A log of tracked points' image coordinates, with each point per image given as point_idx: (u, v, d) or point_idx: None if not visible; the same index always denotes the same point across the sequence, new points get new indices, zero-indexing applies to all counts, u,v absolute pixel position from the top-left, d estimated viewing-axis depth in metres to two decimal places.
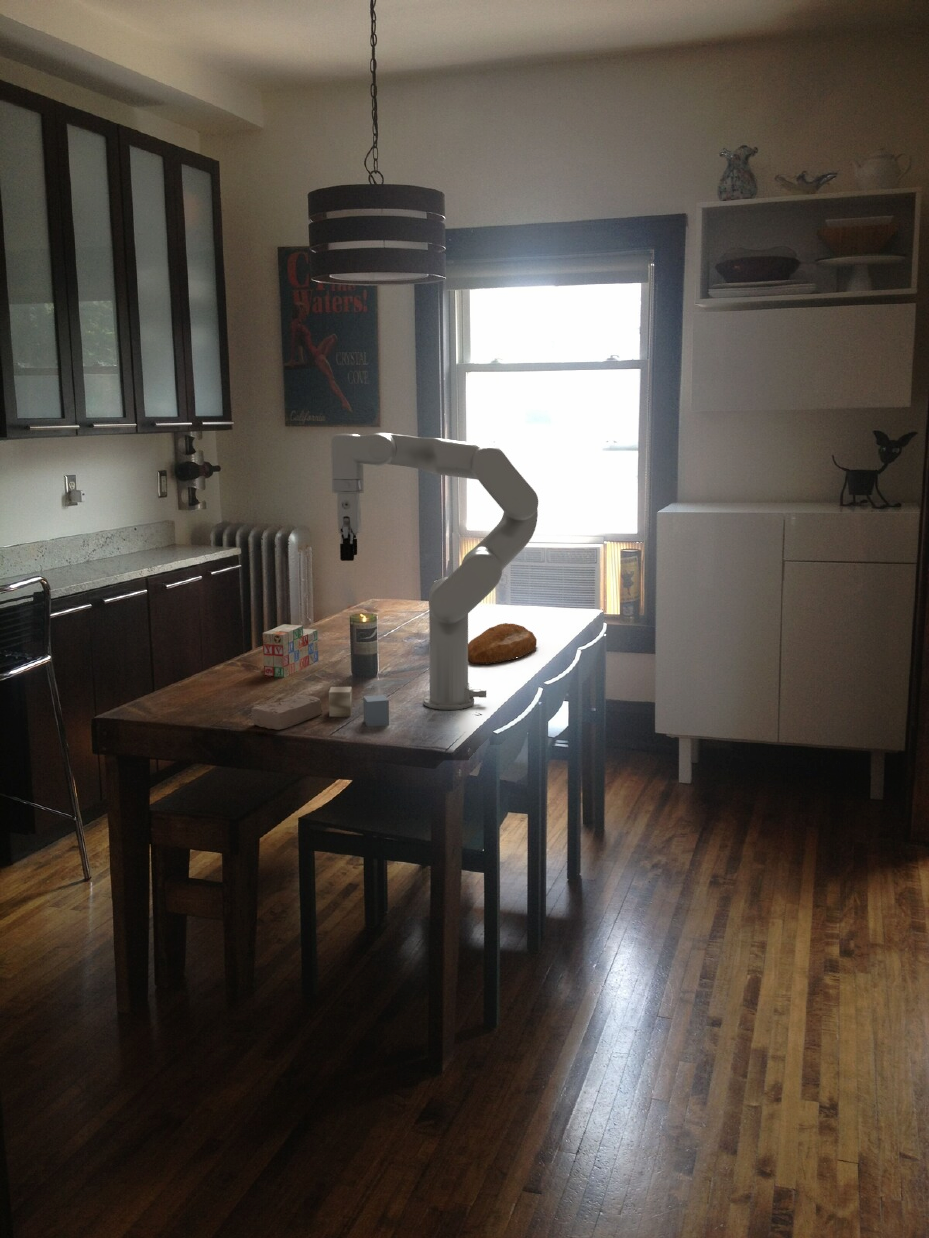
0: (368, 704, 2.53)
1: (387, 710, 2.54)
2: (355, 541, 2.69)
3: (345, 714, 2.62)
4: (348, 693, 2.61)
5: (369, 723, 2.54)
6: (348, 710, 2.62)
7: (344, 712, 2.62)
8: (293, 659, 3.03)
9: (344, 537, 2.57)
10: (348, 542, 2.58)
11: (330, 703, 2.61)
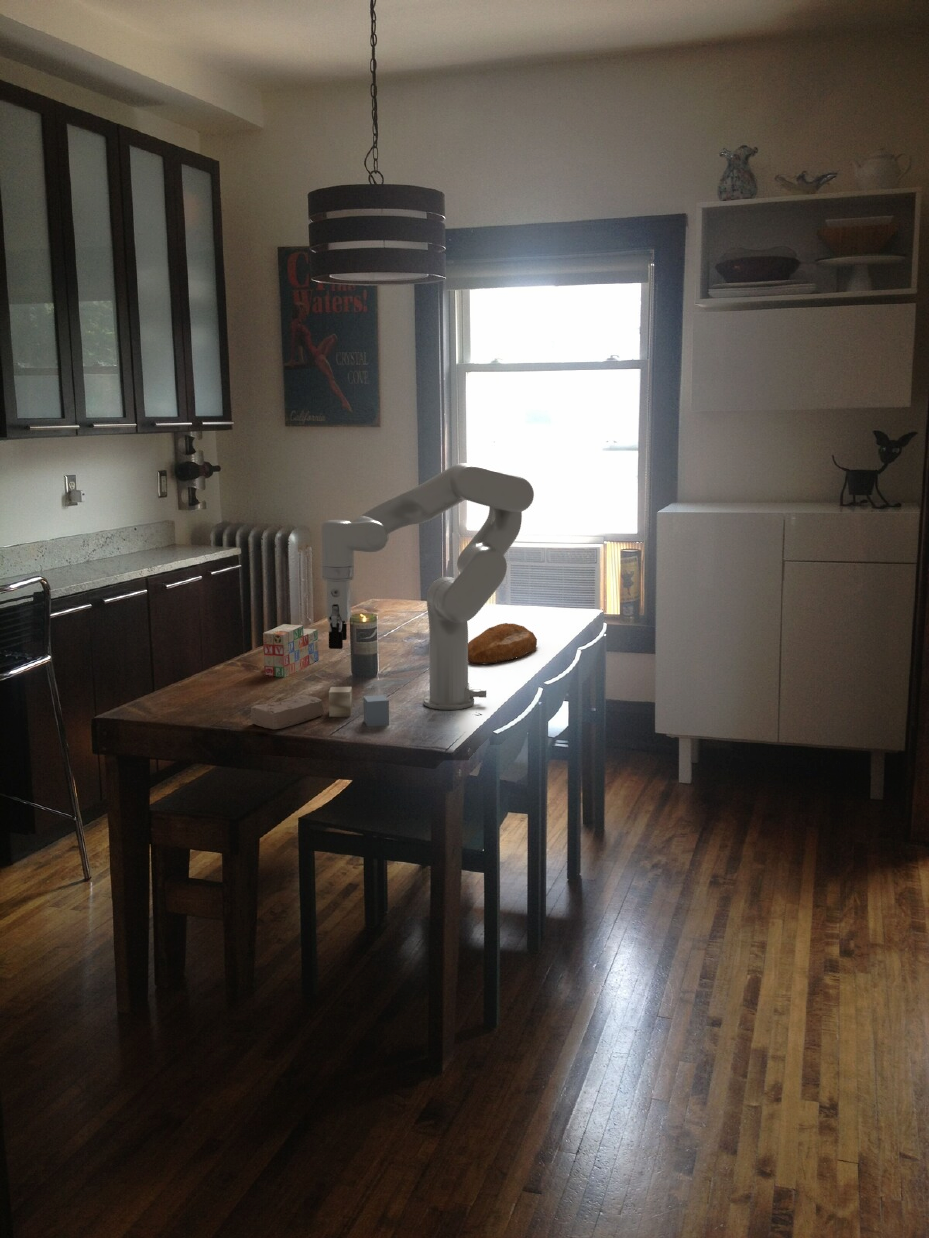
0: (368, 704, 2.53)
1: (387, 710, 2.54)
2: (344, 626, 2.65)
3: (345, 714, 2.62)
4: (348, 693, 2.61)
5: (369, 723, 2.54)
6: (348, 710, 2.62)
7: (344, 712, 2.62)
8: (293, 659, 3.03)
9: (333, 626, 2.53)
10: (337, 630, 2.54)
11: (330, 703, 2.61)
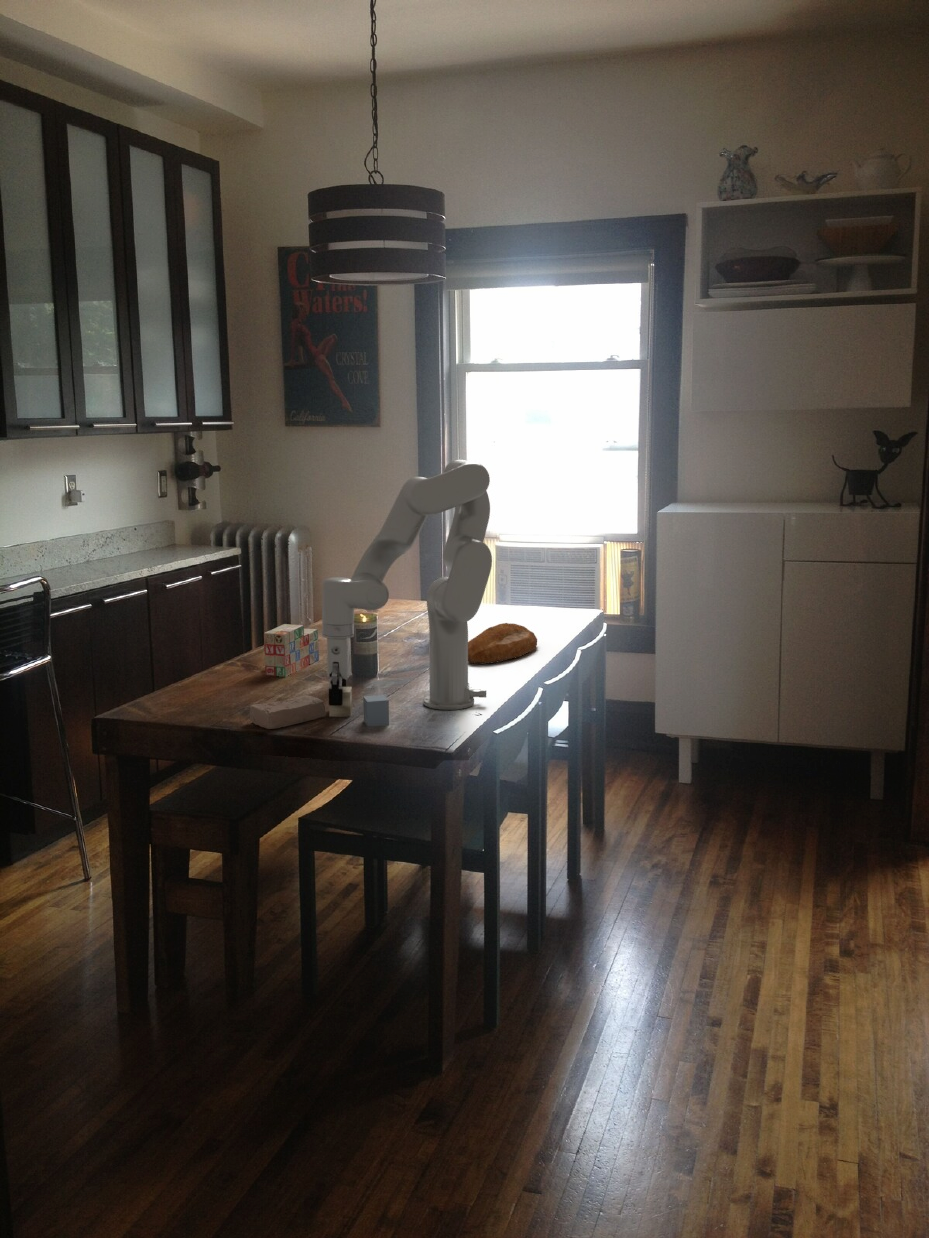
0: (368, 704, 2.53)
1: (387, 710, 2.54)
2: (344, 681, 2.67)
3: (345, 714, 2.62)
4: (348, 693, 2.61)
5: (369, 723, 2.54)
6: (348, 710, 2.62)
7: (344, 712, 2.62)
8: (294, 659, 3.03)
9: (333, 683, 2.55)
10: (337, 688, 2.56)
11: None
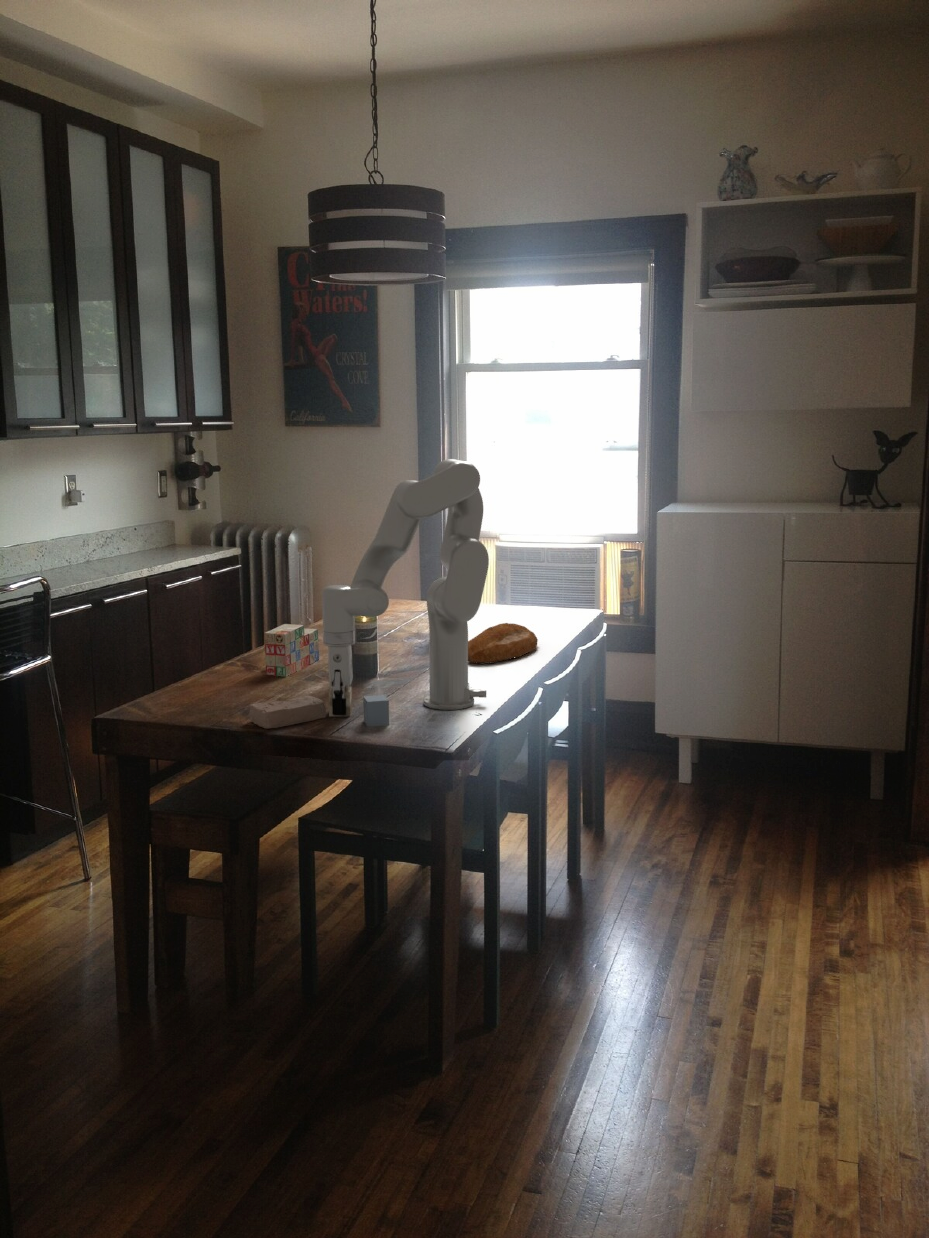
0: (368, 704, 2.53)
1: (387, 710, 2.54)
2: None
3: None
4: (348, 693, 2.61)
5: (369, 723, 2.54)
6: (348, 710, 2.62)
7: None
8: (295, 659, 3.03)
9: (336, 694, 2.58)
10: (340, 699, 2.59)
11: (329, 703, 2.61)
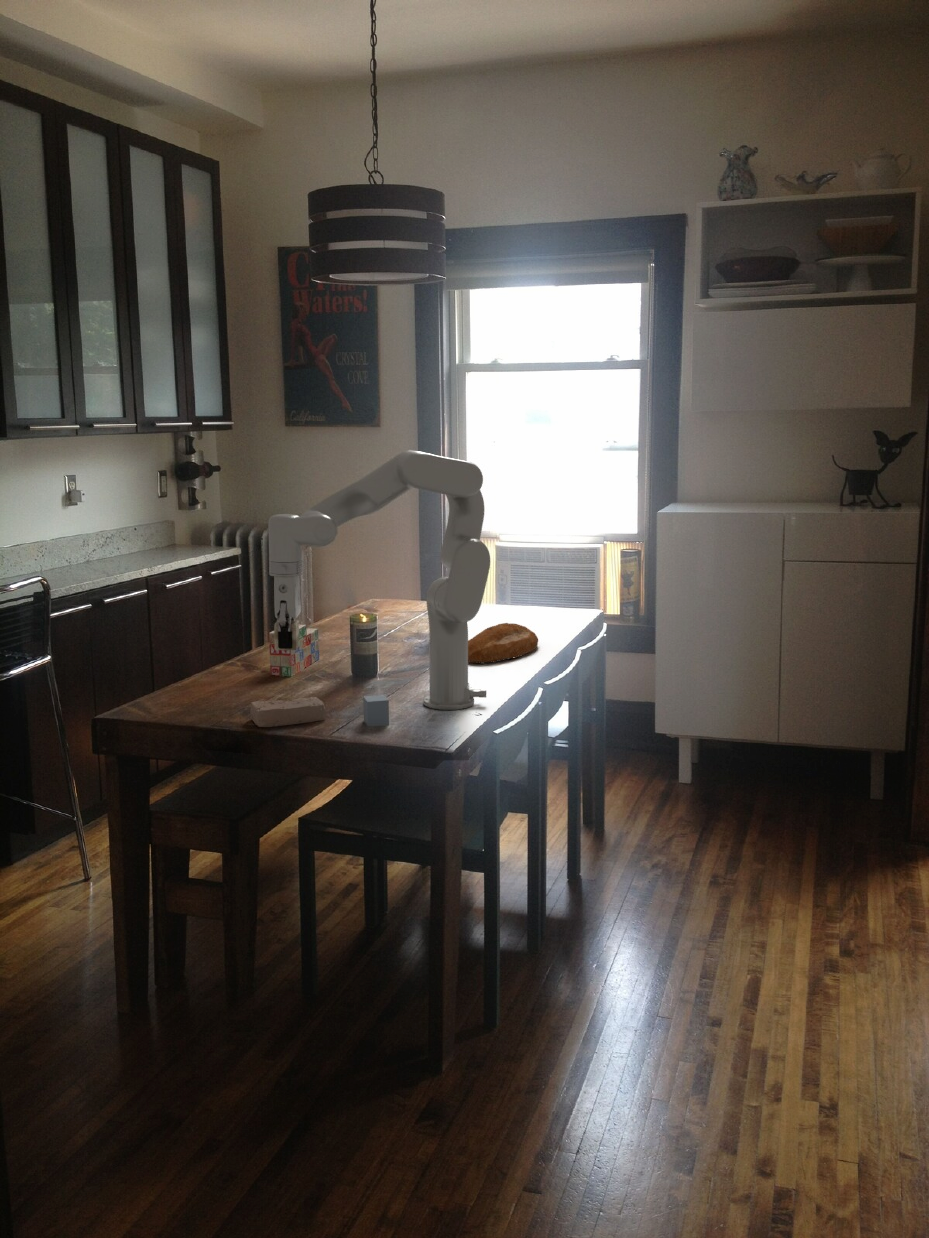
0: (368, 704, 2.53)
1: (387, 710, 2.54)
2: None
3: None
4: (294, 625, 2.53)
5: (369, 723, 2.54)
6: (294, 643, 2.53)
7: None
8: (298, 659, 3.04)
9: (282, 626, 2.50)
10: (286, 631, 2.51)
11: (275, 636, 2.53)
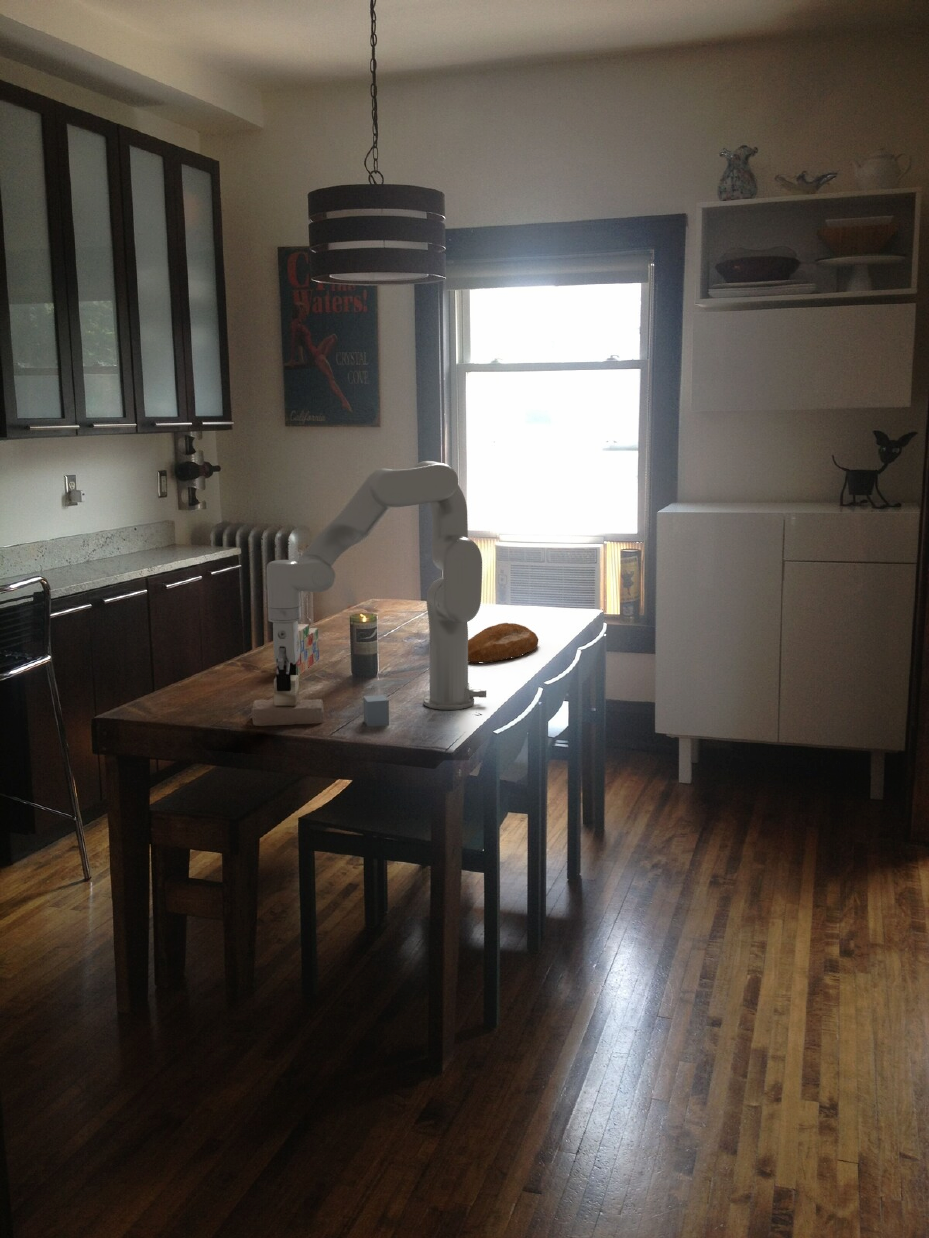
0: (368, 704, 2.53)
1: (387, 710, 2.54)
2: (294, 666, 2.61)
3: (290, 703, 2.56)
4: (293, 681, 2.55)
5: (369, 723, 2.54)
6: (293, 699, 2.56)
7: (290, 701, 2.56)
8: (303, 658, 3.04)
9: (280, 668, 2.49)
10: (284, 673, 2.51)
11: (274, 692, 2.55)
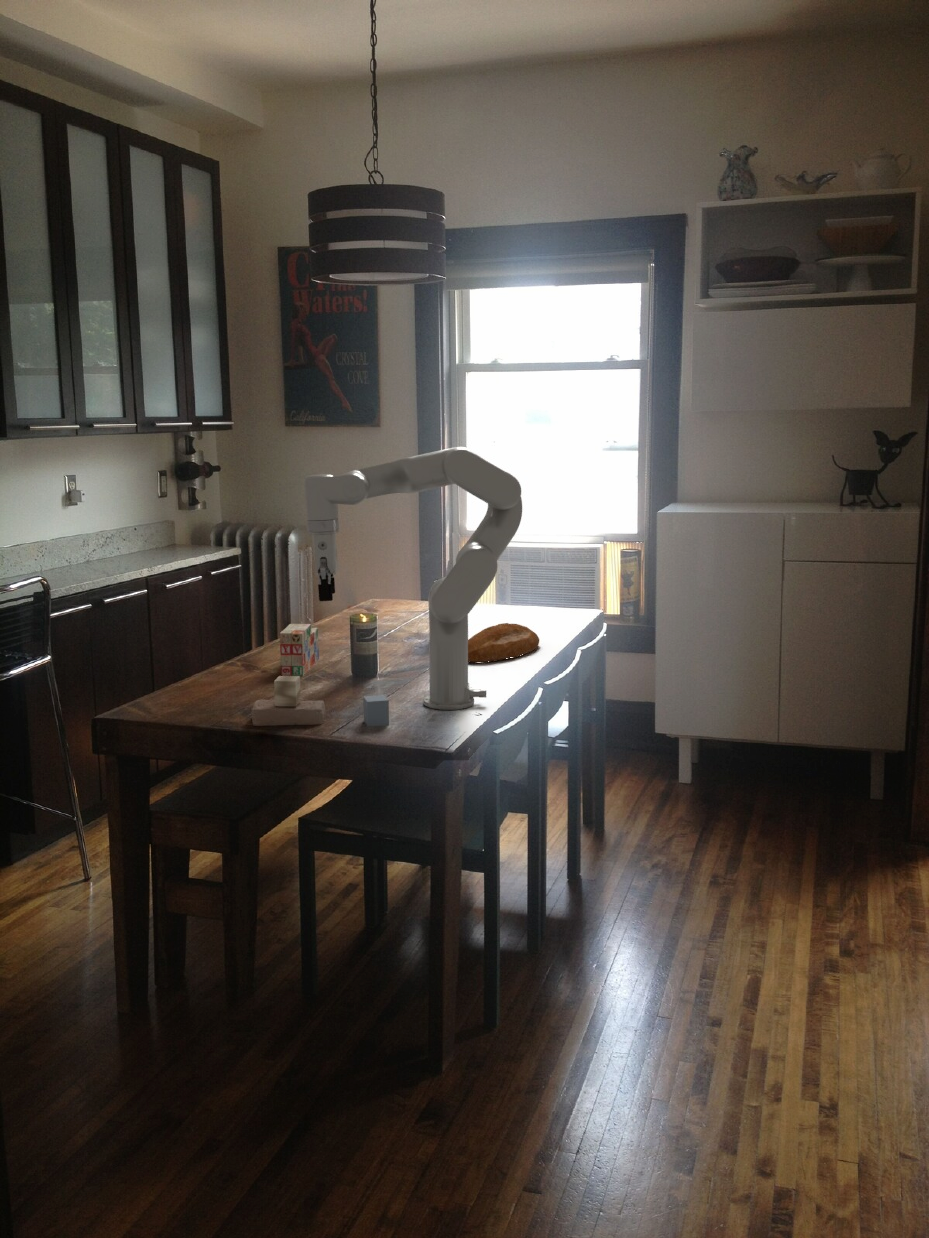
0: (368, 704, 2.53)
1: (387, 710, 2.54)
2: (332, 580, 2.69)
3: (291, 704, 2.56)
4: (293, 682, 2.55)
5: (369, 723, 2.54)
6: (294, 700, 2.55)
7: (290, 702, 2.56)
8: (307, 658, 3.05)
9: (322, 578, 2.57)
10: (326, 583, 2.58)
11: (275, 692, 2.55)
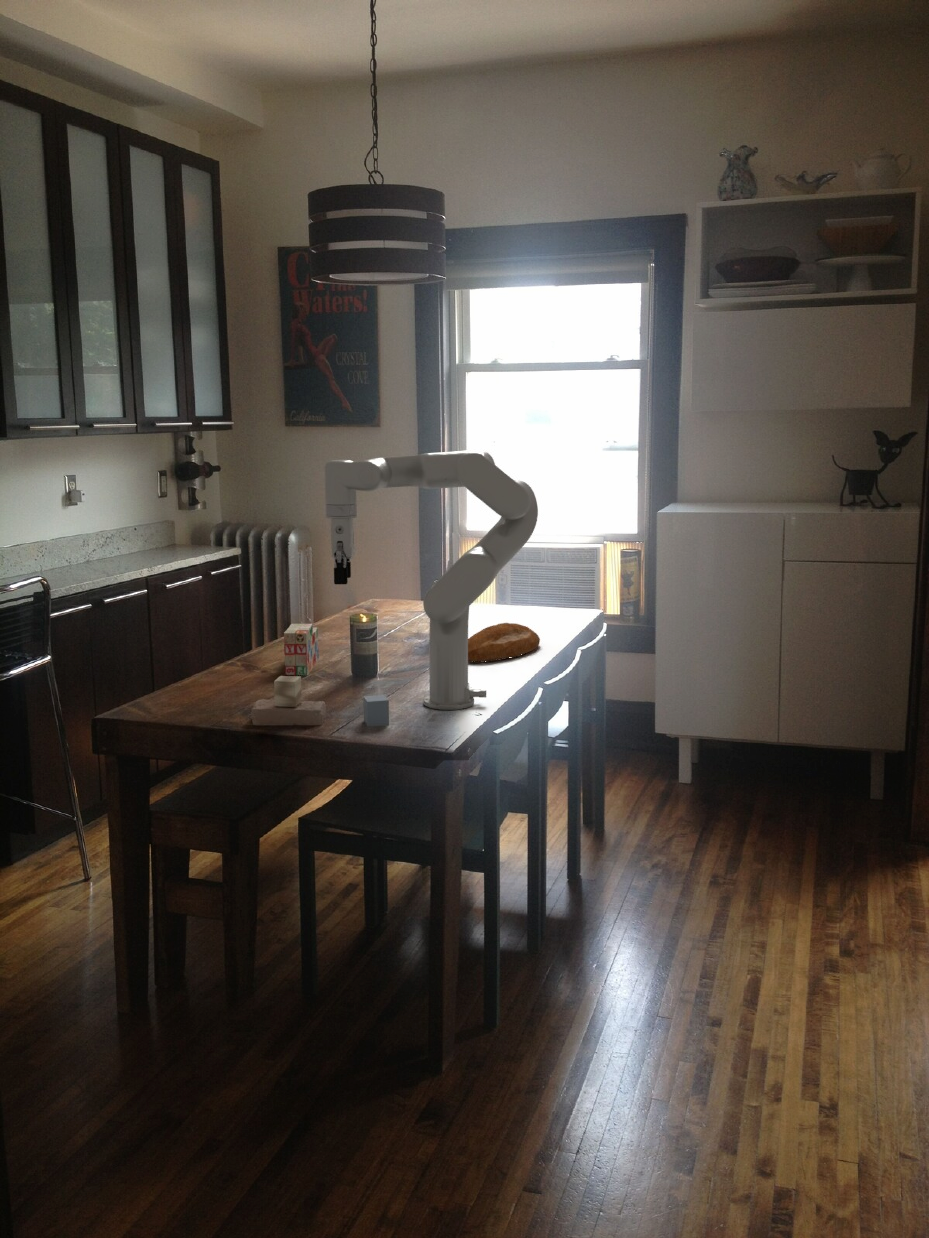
0: (368, 704, 2.53)
1: (387, 710, 2.54)
2: (349, 564, 2.74)
3: (290, 704, 2.55)
4: (293, 683, 2.54)
5: (369, 723, 2.54)
6: (293, 700, 2.55)
7: (290, 702, 2.55)
8: (310, 657, 3.05)
9: (338, 561, 2.62)
10: (342, 566, 2.63)
11: (275, 692, 2.55)
